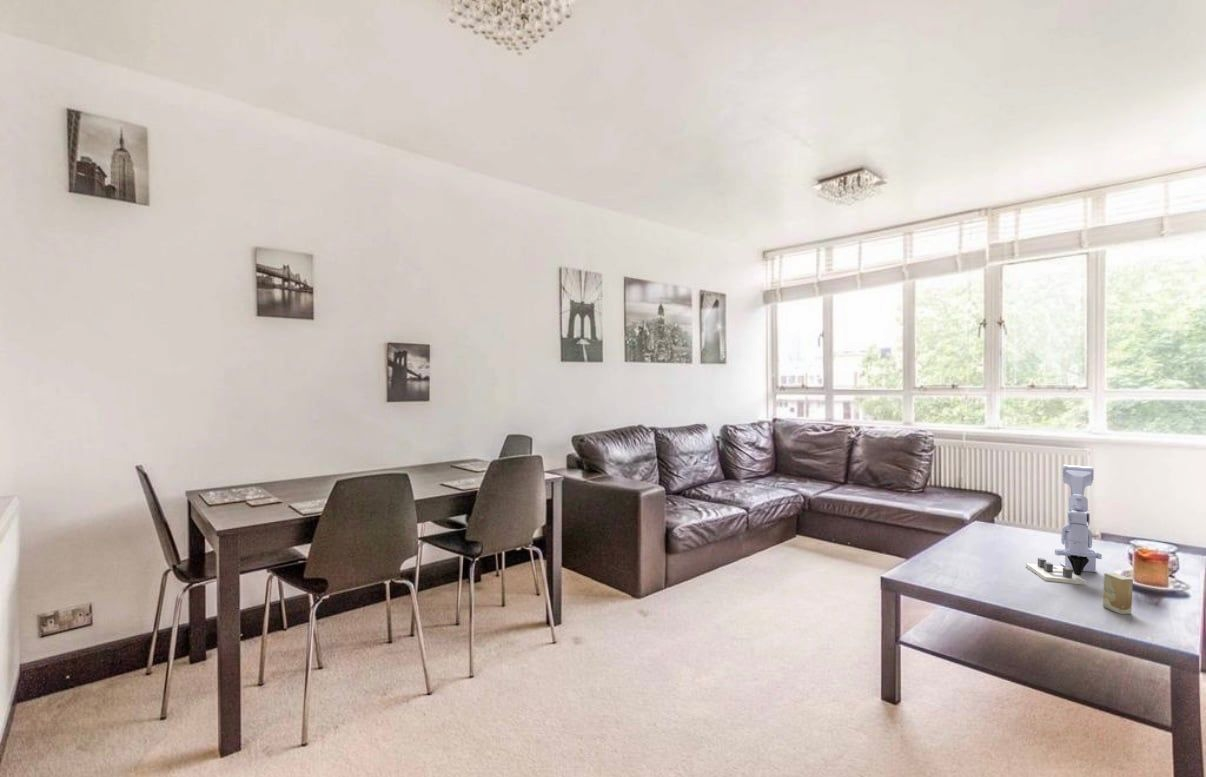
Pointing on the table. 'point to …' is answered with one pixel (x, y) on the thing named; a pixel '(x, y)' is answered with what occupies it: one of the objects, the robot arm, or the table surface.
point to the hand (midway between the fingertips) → (1077, 574)
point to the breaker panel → (1053, 572)
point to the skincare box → (1117, 593)
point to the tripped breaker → (1067, 572)
